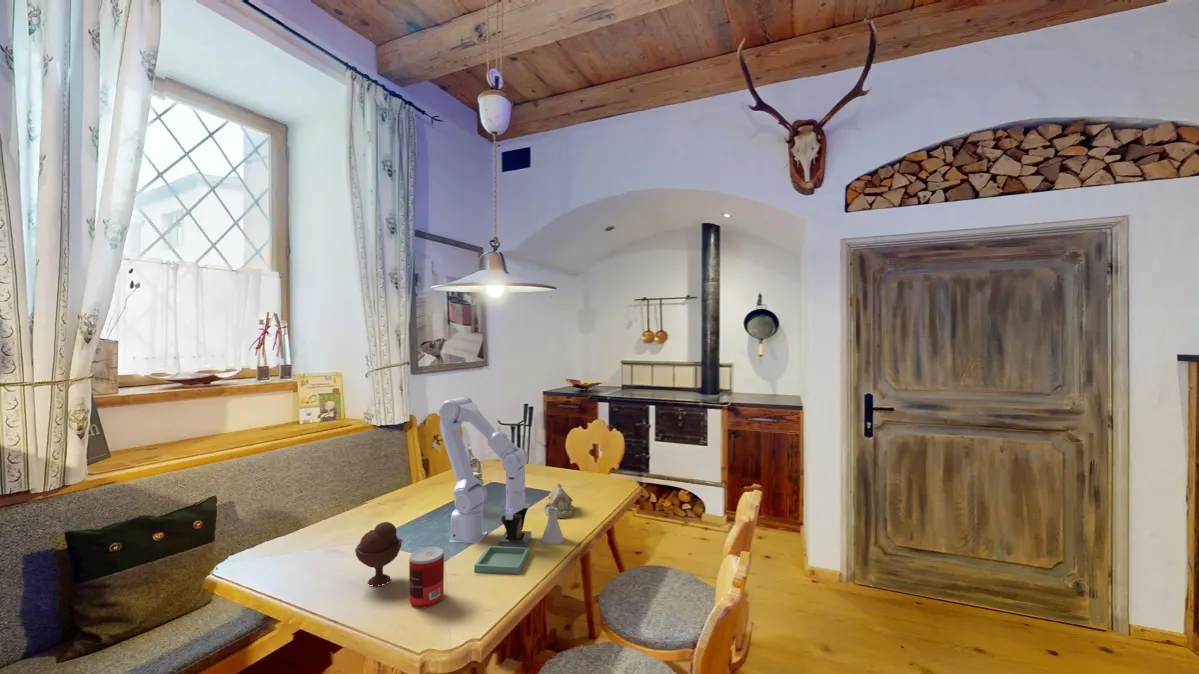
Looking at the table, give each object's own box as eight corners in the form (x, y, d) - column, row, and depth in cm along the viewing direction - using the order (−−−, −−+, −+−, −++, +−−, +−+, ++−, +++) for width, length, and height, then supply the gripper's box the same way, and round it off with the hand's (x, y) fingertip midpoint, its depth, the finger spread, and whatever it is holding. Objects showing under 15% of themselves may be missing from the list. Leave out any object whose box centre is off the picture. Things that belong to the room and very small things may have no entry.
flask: (560, 547, 143) (560, 514, 143) (537, 545, 144) (537, 512, 144) (567, 538, 150) (567, 506, 150) (545, 536, 151) (545, 504, 151)
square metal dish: (498, 549, 141) (498, 541, 142) (506, 538, 149) (506, 530, 149) (525, 550, 141) (525, 542, 141) (531, 539, 149) (531, 531, 149)
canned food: (447, 590, 119) (447, 546, 119) (437, 608, 111) (437, 560, 111) (416, 591, 118) (416, 546, 118) (404, 609, 110) (404, 561, 110)
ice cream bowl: (388, 567, 131) (388, 512, 131) (409, 580, 123) (409, 522, 124) (348, 582, 122) (348, 524, 122) (368, 597, 115) (368, 535, 115)
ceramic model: (542, 506, 178) (542, 479, 178) (572, 504, 181) (572, 478, 181) (545, 520, 165) (545, 491, 165) (577, 518, 167) (577, 489, 167)
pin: (508, 544, 144) (508, 518, 144) (511, 540, 147) (511, 514, 147) (519, 545, 143) (519, 518, 143) (522, 540, 147) (522, 514, 147)
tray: (474, 574, 127) (474, 565, 127) (488, 553, 139) (488, 546, 139) (518, 576, 126) (518, 567, 126) (529, 555, 138) (529, 547, 138)
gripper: (522, 498, 138) (522, 545, 138) (533, 483, 152) (533, 526, 152) (498, 497, 138) (498, 544, 138) (512, 482, 153) (512, 525, 153)
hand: (515, 534), depth 145 cm, fingers open, 7 cm apart
